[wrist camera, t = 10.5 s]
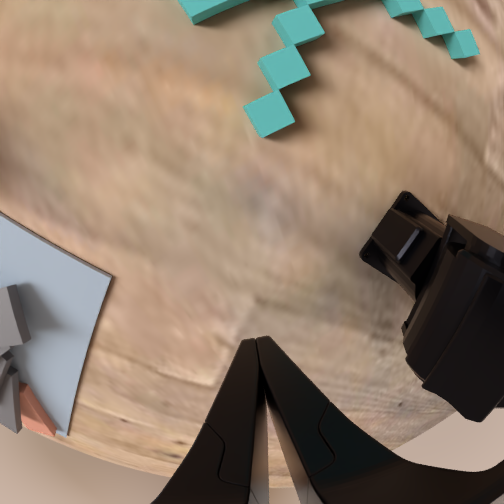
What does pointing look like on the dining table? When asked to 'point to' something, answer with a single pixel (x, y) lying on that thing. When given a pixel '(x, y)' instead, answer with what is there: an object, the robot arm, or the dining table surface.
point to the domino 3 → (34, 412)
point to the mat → (51, 315)
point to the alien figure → (308, 29)
